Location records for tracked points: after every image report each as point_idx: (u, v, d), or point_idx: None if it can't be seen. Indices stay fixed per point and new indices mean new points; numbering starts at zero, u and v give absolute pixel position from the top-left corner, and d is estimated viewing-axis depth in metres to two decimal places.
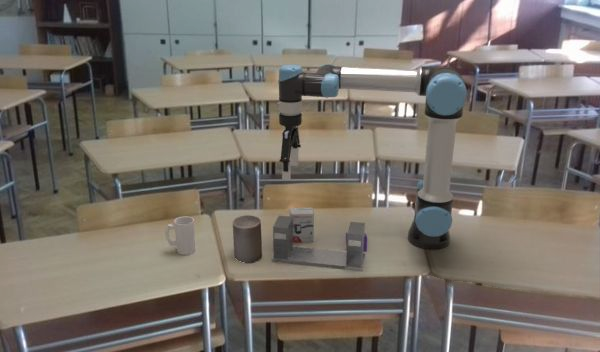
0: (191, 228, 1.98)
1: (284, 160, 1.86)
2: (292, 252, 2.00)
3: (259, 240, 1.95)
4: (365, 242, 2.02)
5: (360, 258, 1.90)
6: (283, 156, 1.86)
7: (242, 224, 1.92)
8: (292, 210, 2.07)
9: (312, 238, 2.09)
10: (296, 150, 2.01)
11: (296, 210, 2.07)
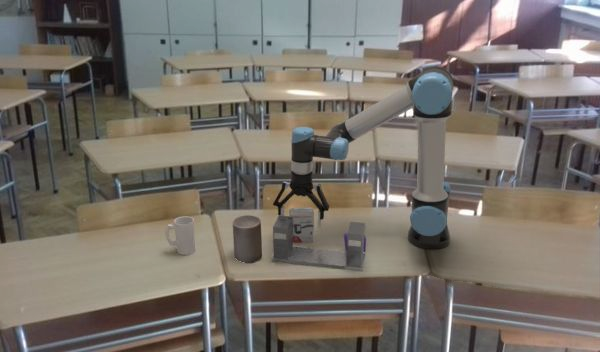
0: (191, 228, 1.98)
1: None
2: (292, 252, 2.00)
3: (259, 240, 1.95)
4: (364, 242, 2.02)
5: (360, 258, 1.90)
6: None
7: (242, 224, 1.92)
8: (292, 210, 2.07)
9: (312, 238, 2.09)
10: (318, 213, 2.05)
11: (296, 210, 2.07)
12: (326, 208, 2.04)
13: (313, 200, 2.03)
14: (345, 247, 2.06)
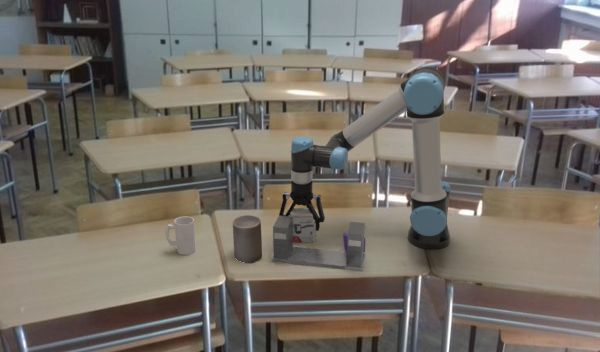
0: (191, 228, 1.98)
1: None
2: (292, 252, 2.00)
3: (259, 240, 1.95)
4: None
5: (360, 258, 1.90)
6: None
7: (242, 224, 1.92)
8: (292, 210, 2.07)
9: (312, 238, 2.09)
10: None
11: (296, 210, 2.07)
12: (322, 219, 2.06)
13: (311, 211, 2.05)
14: None
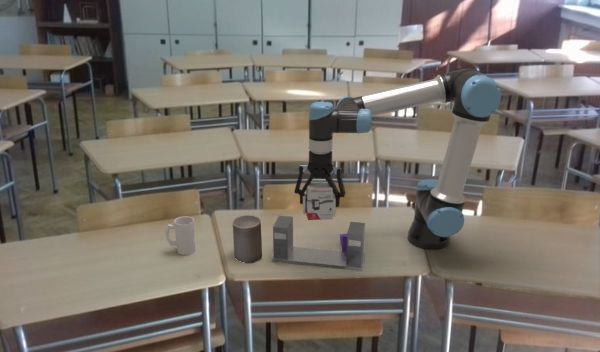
0: (191, 228, 1.98)
1: None
2: (292, 252, 2.00)
3: (259, 240, 1.95)
4: None
5: (360, 258, 1.90)
6: None
7: (242, 224, 1.92)
8: (309, 184, 1.88)
9: (331, 215, 1.90)
10: (333, 199, 1.88)
11: (314, 184, 1.88)
12: (342, 194, 1.86)
13: (330, 184, 1.86)
14: None
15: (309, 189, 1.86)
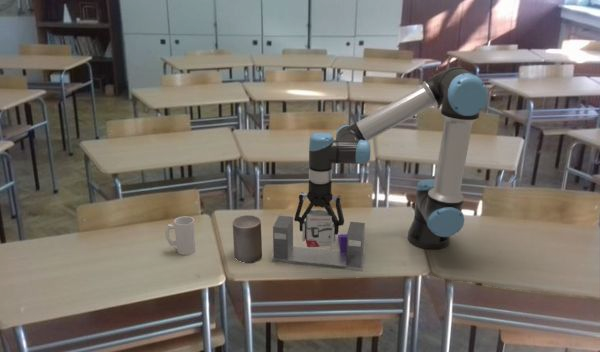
0: (191, 228, 1.98)
1: None
2: (292, 252, 2.00)
3: (259, 240, 1.95)
4: None
5: (360, 258, 1.90)
6: None
7: (242, 224, 1.92)
8: (309, 212, 1.92)
9: (330, 242, 1.93)
10: (332, 227, 1.92)
11: (313, 212, 1.92)
12: (341, 222, 1.90)
13: (329, 213, 1.90)
14: None
15: (309, 217, 1.89)
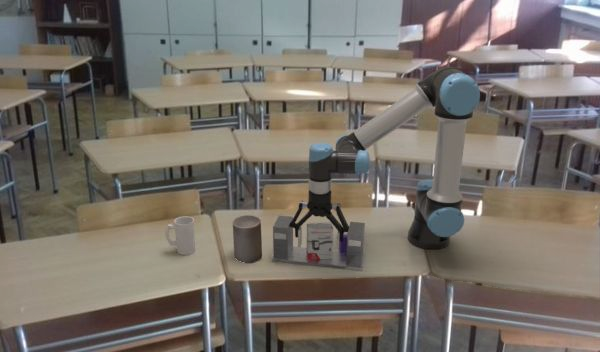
0: (191, 228, 1.98)
1: (290, 224, 1.95)
2: (292, 252, 2.00)
3: (259, 240, 1.95)
4: None
5: (360, 258, 1.90)
6: (292, 220, 1.95)
7: (242, 224, 1.92)
8: (310, 225, 1.94)
9: (331, 255, 1.95)
10: (337, 234, 1.92)
11: (314, 225, 1.94)
12: (346, 229, 1.91)
13: (332, 221, 1.90)
14: (339, 249, 2.04)
15: (309, 230, 1.91)
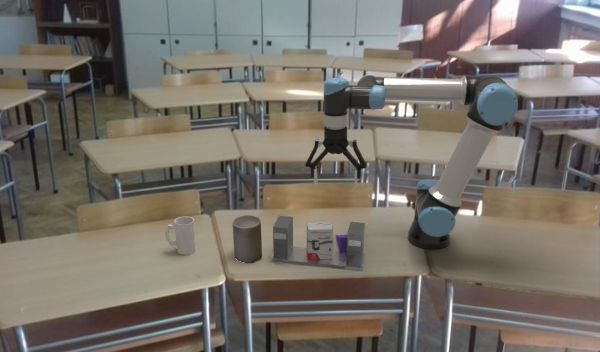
0: (191, 228, 1.98)
1: None
2: (292, 252, 2.00)
3: (259, 240, 1.95)
4: None
5: (360, 258, 1.90)
6: None
7: (242, 224, 1.92)
8: (310, 225, 1.94)
9: (331, 255, 1.95)
10: None
11: (314, 225, 1.94)
12: (363, 165, 1.89)
13: (349, 157, 1.89)
14: (339, 249, 2.04)
15: (309, 230, 1.91)
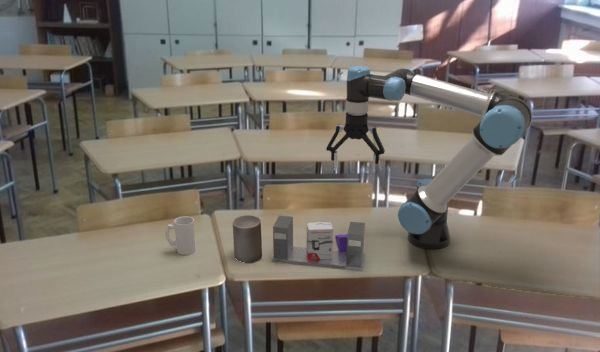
0: (191, 228, 1.98)
1: None
2: (292, 252, 2.00)
3: (259, 240, 1.95)
4: None
5: (360, 258, 1.90)
6: None
7: (242, 224, 1.92)
8: (310, 225, 1.94)
9: (331, 255, 1.95)
10: (373, 156, 1.99)
11: (314, 225, 1.94)
12: (382, 151, 1.97)
13: (368, 143, 1.97)
14: (338, 249, 2.04)
15: (309, 230, 1.91)
